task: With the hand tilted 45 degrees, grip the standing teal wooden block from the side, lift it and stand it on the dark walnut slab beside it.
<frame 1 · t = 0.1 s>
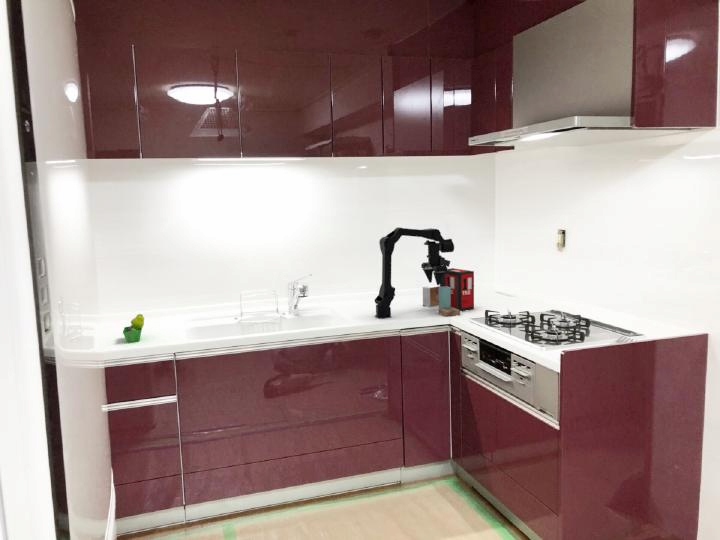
hand: (434, 283, 299), 15 cm above the worktop, tool pointing down, fingers open, 9 cm apart
teal block: (444, 310, 303), on the worktop
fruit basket: (135, 340, 260), on the worktop
small box: (431, 305, 318), on the worktop
walnut slab: (449, 314, 294), on the worktop
cleaning product box: (456, 308, 310), on the worktop
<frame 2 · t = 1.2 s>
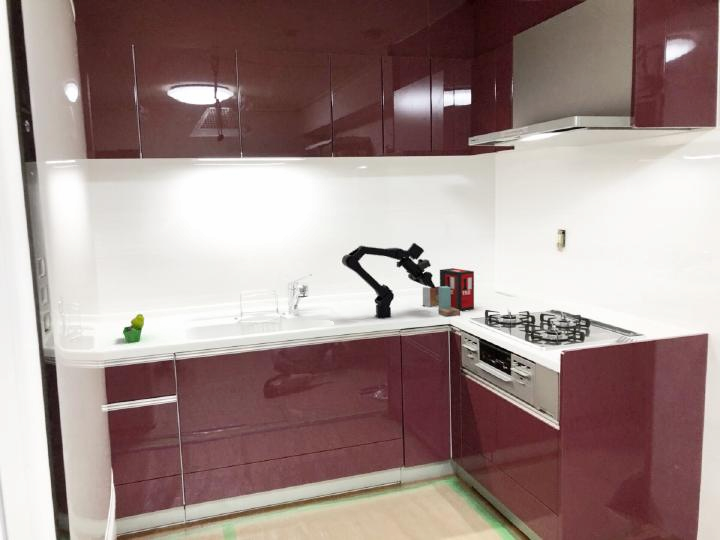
hand: (430, 286, 299), 13 cm above the worktop, tool tilted 45°, fingers open, 9 cm apart
nothing on the worktop moved.
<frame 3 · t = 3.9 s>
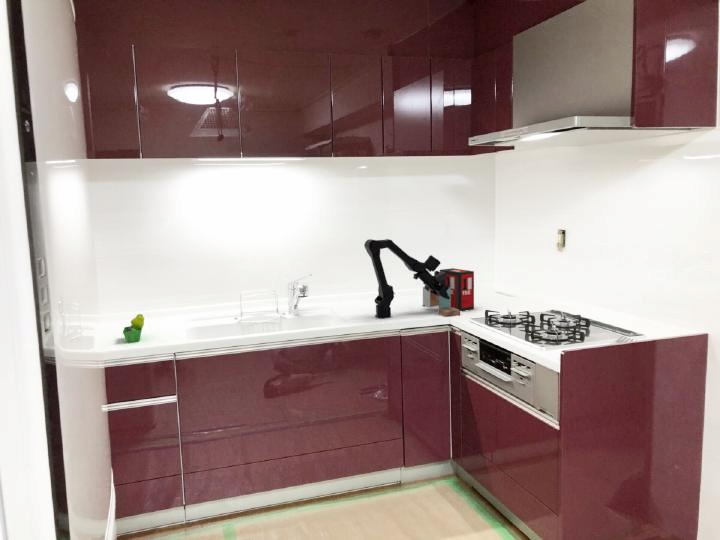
hand: (447, 298, 303), 7 cm above the worktop, tool tilted 45°, fingers closed on teal block, 4 cm apart
teal block: (444, 310, 303), on the worktop, touching gripper
everything else where it was.
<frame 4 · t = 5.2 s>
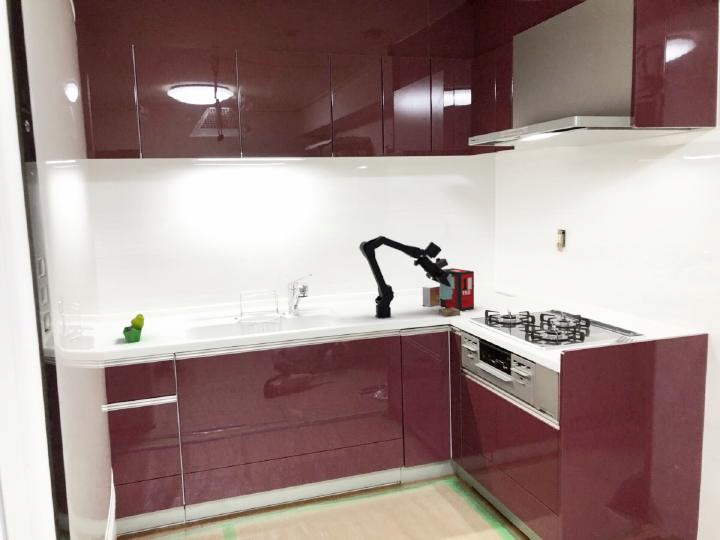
hand: (448, 285, 300), 13 cm above the worktop, tool tilted 45°, fingers closed on teal block, 4 cm apart
teal block: (445, 298, 300), point 7 cm above the worktop, touching gripper
everything else where it was.
when the fingers open (10 cm above the worktop, at t = 6.7 s): teal block drops 1 cm, resting on walnut slab.
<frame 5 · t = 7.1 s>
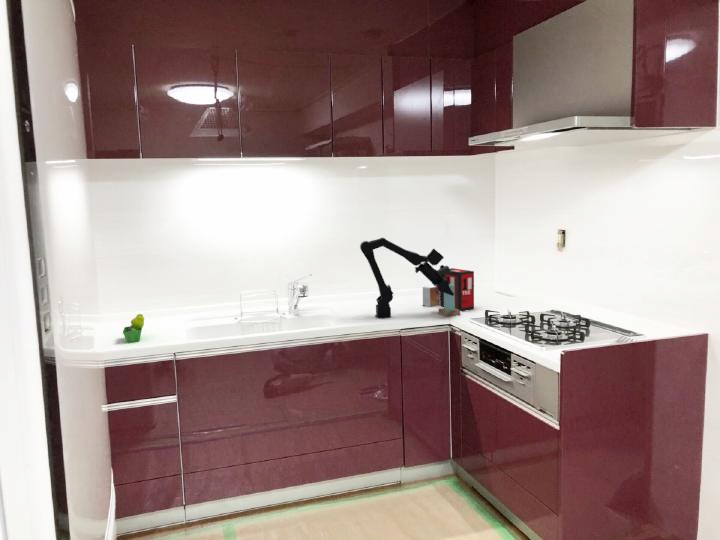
hand: (451, 293, 293), 11 cm above the worktop, tool tilted 45°, fingers open, 9 cm apart
teal block: (449, 309, 294), point 2 cm above the worktop, touching walnut slab
everything else where it was.
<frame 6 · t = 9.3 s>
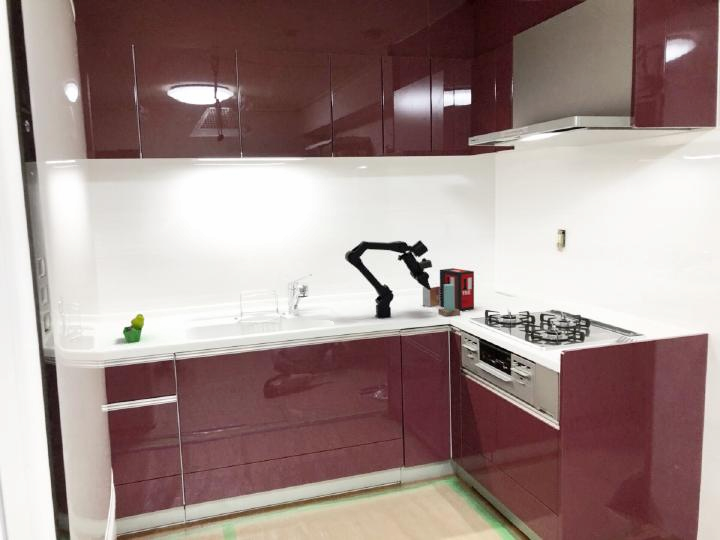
hand: (428, 287, 296), 13 cm above the worktop, tool tilted 35°, fingers open, 9 cm apart
nothing on the worktop moved.
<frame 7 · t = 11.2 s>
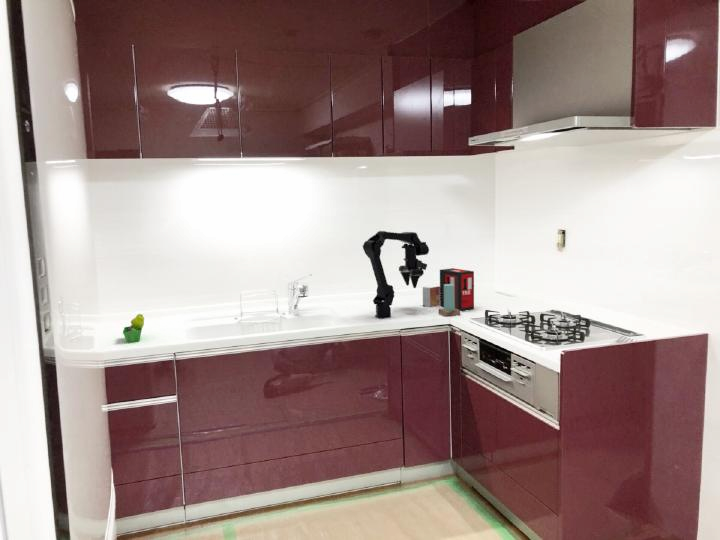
hand: (411, 286, 302), 13 cm above the worktop, tool pointing down, fingers open, 9 cm apart
nothing on the worktop moved.
at the end: teal block 0.0 cm off-centre on the walnut slab, point 2.5 cm above the walnut slab's base; teal block tilted 0°; the gripper is holding nothing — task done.
